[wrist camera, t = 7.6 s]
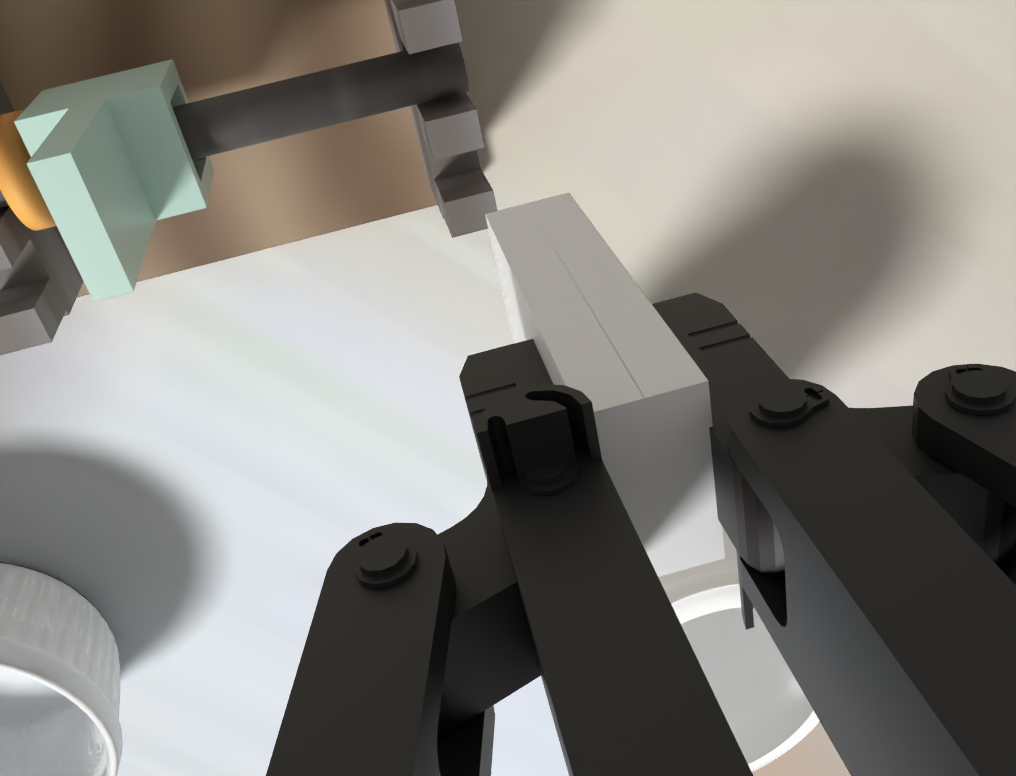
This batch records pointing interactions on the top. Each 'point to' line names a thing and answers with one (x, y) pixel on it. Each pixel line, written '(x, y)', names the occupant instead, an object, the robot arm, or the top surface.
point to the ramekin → (55, 680)
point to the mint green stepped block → (113, 168)
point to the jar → (739, 660)
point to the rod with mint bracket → (247, 127)
